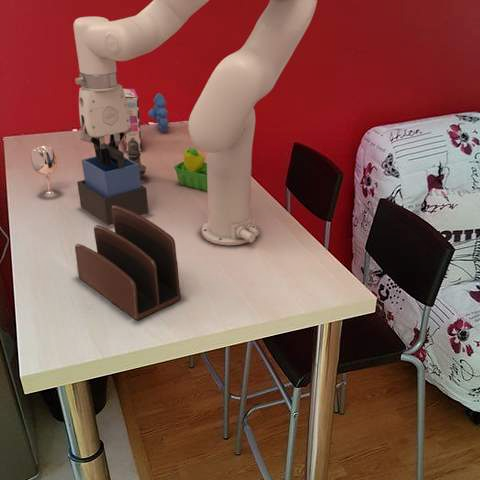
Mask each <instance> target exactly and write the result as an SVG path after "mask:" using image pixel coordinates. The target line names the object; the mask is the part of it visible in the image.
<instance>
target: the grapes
mask: <svg viewBox="0 0 480 480" xmlns="http://www.w3.org/2000/svg"><path fill="white" fill-rule="evenodd" d="M152 100H153V101H152V102H153V103H154V106H153V107H152V108H151V109H149V111H148V112H147V115H148V116H149V117H150V118H151V119H154V120H155V121H156V123H157V124H156V127H157V128H158V130H159V131H161V132H162V133H166V132H167V131H168V129H169V126H168V125H169V123H170V121H169V120H168V119H167V116H168V114H169V111H168V110H167V108H165V107H166V105H167V101H166V100H165V97H164V95H163V94H162V93H160V92H159V93H157V94H156V95H155V97H154V98H153V99H152Z"/></svg>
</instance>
